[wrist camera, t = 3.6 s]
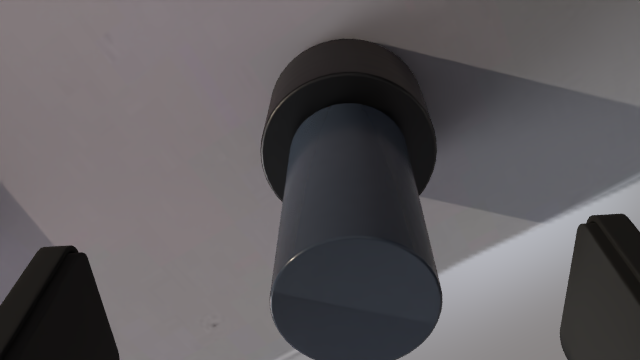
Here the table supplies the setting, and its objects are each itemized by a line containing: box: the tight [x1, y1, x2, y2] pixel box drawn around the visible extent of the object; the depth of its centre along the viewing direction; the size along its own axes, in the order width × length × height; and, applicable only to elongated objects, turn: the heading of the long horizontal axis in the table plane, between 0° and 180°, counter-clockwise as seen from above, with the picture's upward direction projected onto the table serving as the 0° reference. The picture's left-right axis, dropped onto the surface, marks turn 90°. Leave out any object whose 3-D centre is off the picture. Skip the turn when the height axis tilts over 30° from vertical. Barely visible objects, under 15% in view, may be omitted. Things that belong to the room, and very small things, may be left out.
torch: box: [261, 39, 442, 360], centre depth 15 cm, size 5×5×9 cm
